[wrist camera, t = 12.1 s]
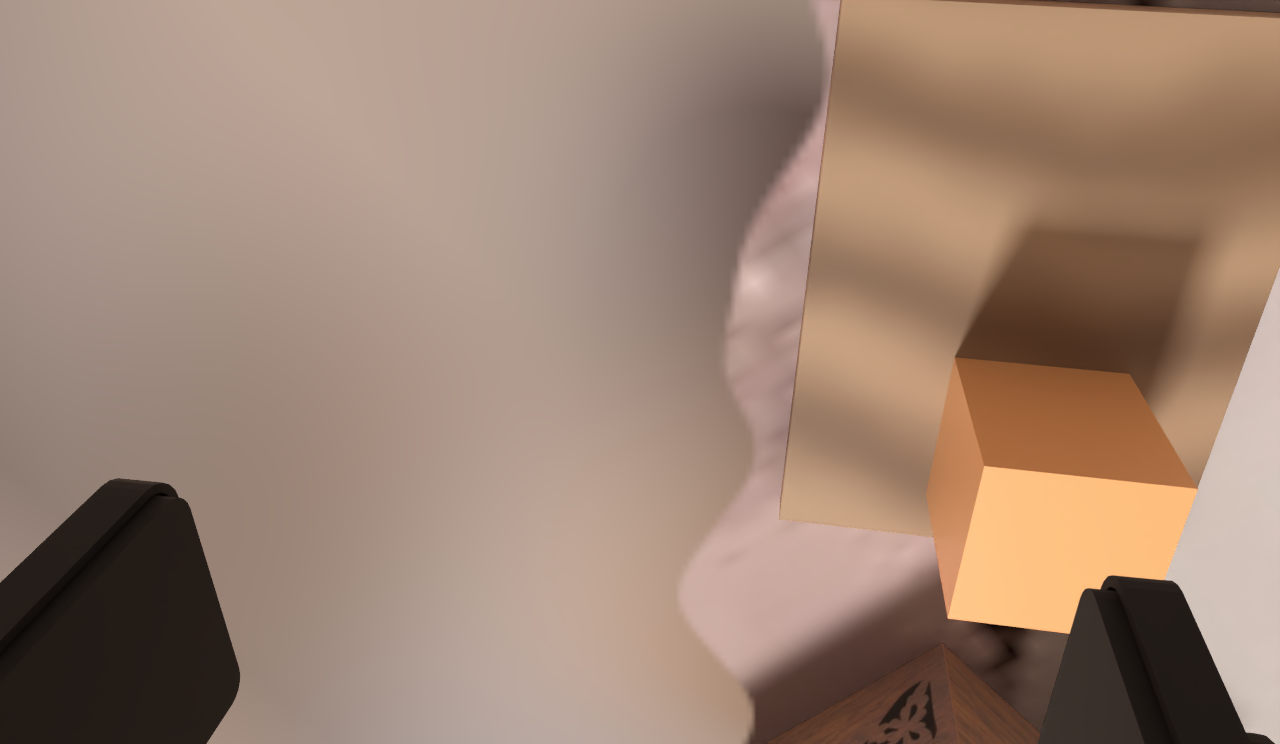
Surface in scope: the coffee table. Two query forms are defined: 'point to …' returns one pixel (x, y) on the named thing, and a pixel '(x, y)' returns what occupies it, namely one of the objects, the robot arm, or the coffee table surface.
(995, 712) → the tissue box cover
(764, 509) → the coffee table surface
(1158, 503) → the orange wooden cube
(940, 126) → the tan wooden board
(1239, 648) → the coffee table surface
